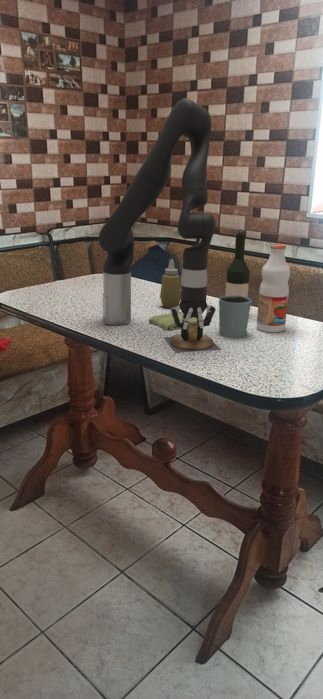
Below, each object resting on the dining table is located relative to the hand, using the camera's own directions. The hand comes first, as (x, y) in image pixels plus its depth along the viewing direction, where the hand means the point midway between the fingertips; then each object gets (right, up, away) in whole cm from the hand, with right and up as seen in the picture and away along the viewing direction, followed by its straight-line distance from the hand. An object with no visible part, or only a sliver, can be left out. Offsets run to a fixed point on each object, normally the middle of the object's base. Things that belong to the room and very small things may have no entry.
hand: (191, 339), depth 158 cm
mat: (0, -2, +1) cm, 2 cm away
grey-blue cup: (+14, +1, +11) cm, 18 cm away
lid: (0, -1, 0) cm, 1 cm away
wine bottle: (+18, +9, +32) cm, 38 cm away
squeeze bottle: (-6, +13, +42) cm, 44 cm away
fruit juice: (+27, +4, +18) cm, 33 cm away
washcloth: (-3, +5, +21) cm, 22 cm away
